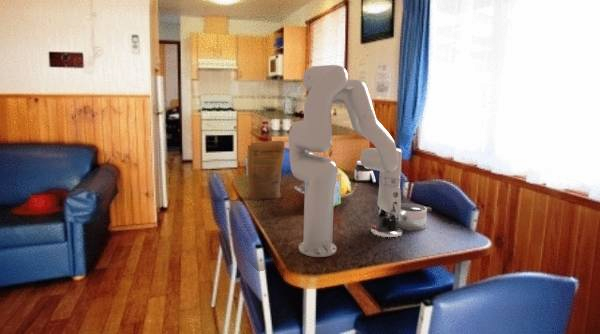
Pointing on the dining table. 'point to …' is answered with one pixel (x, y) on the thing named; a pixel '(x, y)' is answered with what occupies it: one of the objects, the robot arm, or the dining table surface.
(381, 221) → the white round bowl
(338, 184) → the snack box
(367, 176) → the spread jar
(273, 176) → the pancake mix bag
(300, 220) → the dining table surface
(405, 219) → the pot
